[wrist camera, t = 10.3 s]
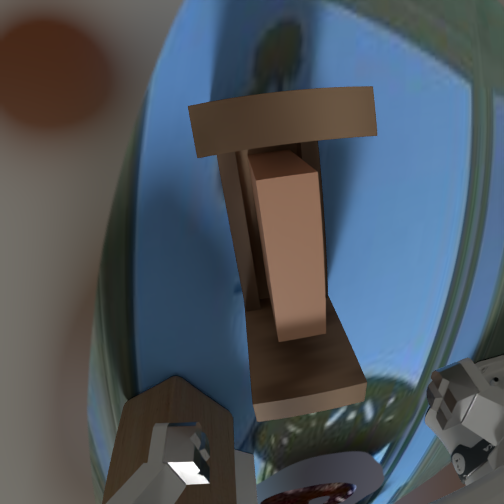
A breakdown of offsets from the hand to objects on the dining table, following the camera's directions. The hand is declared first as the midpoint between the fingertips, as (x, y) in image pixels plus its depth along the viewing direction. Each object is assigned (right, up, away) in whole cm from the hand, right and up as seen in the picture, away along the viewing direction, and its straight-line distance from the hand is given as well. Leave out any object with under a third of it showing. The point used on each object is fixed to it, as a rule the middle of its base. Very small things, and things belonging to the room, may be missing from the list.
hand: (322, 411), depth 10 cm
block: (-11, -13, +26) cm, 31 cm away
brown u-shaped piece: (-1, +8, +16) cm, 18 cm away
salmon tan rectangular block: (0, +8, +15) cm, 17 cm away
